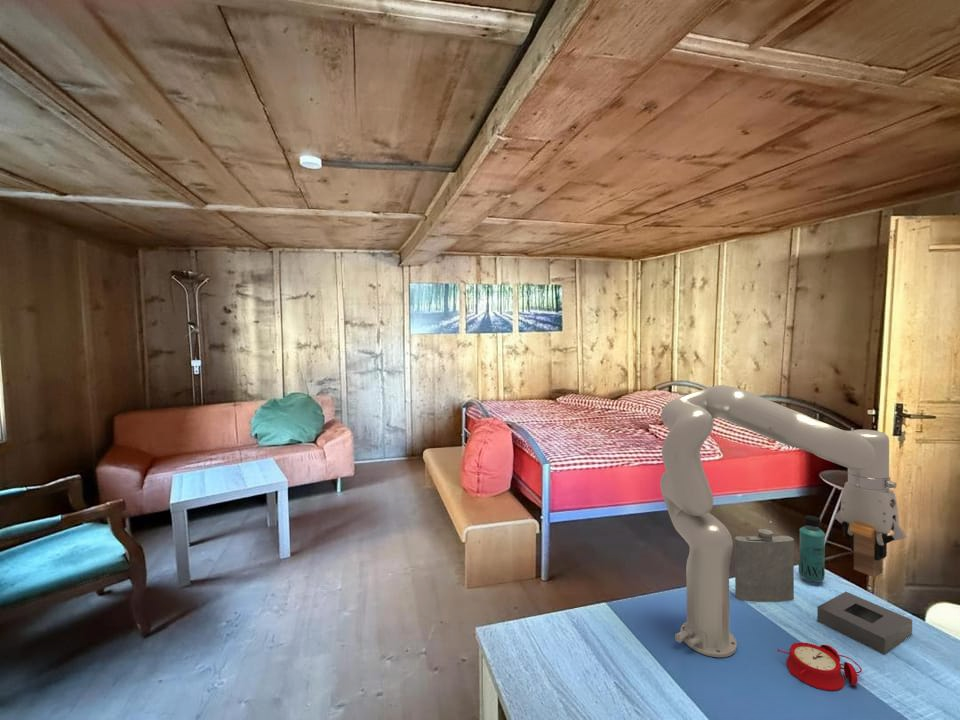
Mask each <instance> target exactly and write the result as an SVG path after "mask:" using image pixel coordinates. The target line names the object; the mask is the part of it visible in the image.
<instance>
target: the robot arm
mask: <svg viewBox="0 0 960 720" xmlns="http://www.w3.org/2000/svg"><path fill="white" fill-rule="evenodd" d="M660 416H661V421H662V423H663V425H664V426H665V428H667V429H668V430H669V431H668V433H667V435H666V437H665V439H664V441H663V444H662V448H661V458H662V462H663V465H664V466H663V467H664V469H665V471H663V473H662V475H661V477H660V481H659V482H660V484H659V487H660V492H661V495H662V497H663V501H664V503H665V506H666V509H667V512H668V514H669V518H670V520H671V524H672V525H673V527H674V529H675V531H677V533H678V534H679V535H680V536H681V537H682V538H683V540H684V541H685V543H687V545H688V547H689V553H688V557H687V559H686V569H685V571H686V572H685V573H686V574H685V577H686V581H685V582H686V621H685V622H683V624H682V625H681V626H680V631H679V632H677V633H675V634H674V639H675V641H676V642H677V643H679V644H680V643H682V642H684V643H685V644H686V645H687V646H688V647H689V648H691V649H692V650H694V651H695V652H697V653H699V654H702V655H705V656H709V657H713V658H726V657H730V656H732V655H733V654H735V653H736V651H737V649H738V648H737V647H738V643H737V639H736V637H735V636H734V635H733V633H732V632H731V631H730V566H731V565H730V564H731V558H732V553H733V550H734V549H733V548H734V540H733V538H732V534H731V533H730V531H729V530H728V528H727V526H725V525H724V523H722V521H720V520H719V519H718V518H717V517H715V516H714V515H713V514H711V513H710V512H711V511H712V509H713V507H714V496H713V491H712V489H711V487H710V486H711V485H710V483H709V481H708V478H707V475H706V472H705V470H704V466H703V463H702V459H701V450H702V447H703V445H704V443H705V442H706V440H707V439H708V438H709V437H710V435H711V434H712V433H713V432H712V431H713V430H714V420H715V419H717V418H718V419H721V420H725V421H726V422H729V423H731V424H734V425H736V426H739V427H741V428H744V429H747V430H748V431H751V432H753V433H755V434H758V435H760V436H763V437H765V438H768V439H770V440H773V441H775V442H778V443H780V444H783V445H785V446H789V447H792V448H795V449H798V450H802V451H805V452H809V453H811V454H814V456H816V457H818V458H821V459H823V460H826V461H829V462H831V463H834V464H837V465H839V466H842V467H845V468H847V481H846V482H845V483H844V486H843V489H842V494H841V501H840V502H841V503H840V509H839V510H838V511H837V512H836V514H834V517H833V518H834V519H835V520H837V521H838V522H839V523H840V524H841V525H842V527H843V528H844V529H845V530H846V531H847V534H848V535H849V545H850V547H851V552H852V553H854V533H853V532H850V524H851V523H853V522H854V523H857V524H861V525H864V526H867V527H870V528H874V531H875V534H876V539H877V543H876V544H875V560H877V561H879V560H881V559H882V560H884V559H885V558H886V557H887V553H888V551H887V550H888V548H887V547H888V544H889V543H891V542H894V541H900V540H903V539H906V537H907V536H906V533H904V531H903V530H902V528H901V526H900V520H899V519H900V518H899V508H898V504H897V503H898V502H897V498H896V494H895V491H894V490H893V489H896V488H897V482H894V481H891V477H890V438H889V436H888V435H887V434H886V433H884V432H882V431H879V430H874V429H873V430H871V429H854V430H844V429H840V428H838V427H836V426H833V425H831V424H828V423H825V422H823V421H820V420H818V419H815V418H813V417H811V416H808V415H806V414H804V413H802V412H800V411H798V410H794V409H791V408H789V407H786V406H784V405H781V404H779V403H776V402H774V401H772V400H770V399H767V398H764V397H762V396H760V395H758V394H754V393H753V392H750V391H747V390H744V389H743V388H742V389H741V388H738V387H733V386H729V385H724V384H722V385H720V384H719V385H713V386H710V387H709V386H708V387H707V388H703V389H701V390H698V391H695V392H692V393H689V394H686V395H682V396H679V397H677V398H674V399H672V400H670V401H669V402H667V403H666V404H665V405H664V406H663V408H662V410H661V413H660ZM891 531H892V532H893V533H892V534H890V533H891Z"/></svg>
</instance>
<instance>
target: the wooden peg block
mask: <svg viewBox="0 0 960 720" xmlns="http://www.w3.org/2000/svg"><path fill="white" fill-rule="evenodd" d="M850 532H853V533H854V552H853V571H857V572H858V573H862V574H865V575H867V576H870V577H872V578H875V577H877V576H879V575H880V574H882V573H883V559H881V560H879V561H877V560H875V544H876V543H877V539H876V534H875V531H874V528H870V527H867V526H864V525H861V524H857V523H854V522H853V523H851V524H850Z"/></svg>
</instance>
